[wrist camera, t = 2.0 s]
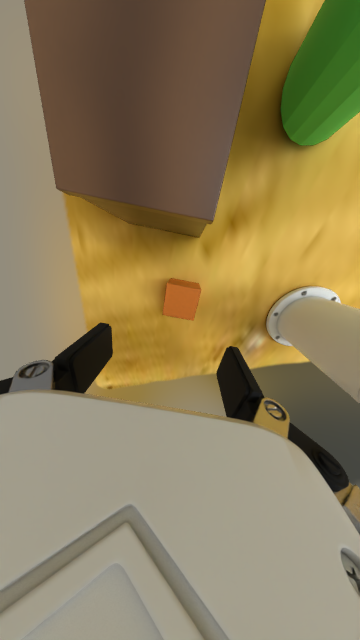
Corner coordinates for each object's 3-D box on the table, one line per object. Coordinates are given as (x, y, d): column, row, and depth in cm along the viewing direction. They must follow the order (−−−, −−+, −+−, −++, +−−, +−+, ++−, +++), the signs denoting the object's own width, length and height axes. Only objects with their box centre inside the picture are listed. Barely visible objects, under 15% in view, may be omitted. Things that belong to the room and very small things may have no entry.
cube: (198, 283, 26) (201, 289, 21) (192, 309, 28) (193, 320, 23) (171, 277, 25) (166, 283, 21) (167, 304, 28) (162, 314, 23)
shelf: (236, 74, 15) (389, -518, 4) (200, 239, 22) (213, 221, 11) (127, 49, 15) (-93, -673, 3) (126, 224, 22) (55, 188, 10)
